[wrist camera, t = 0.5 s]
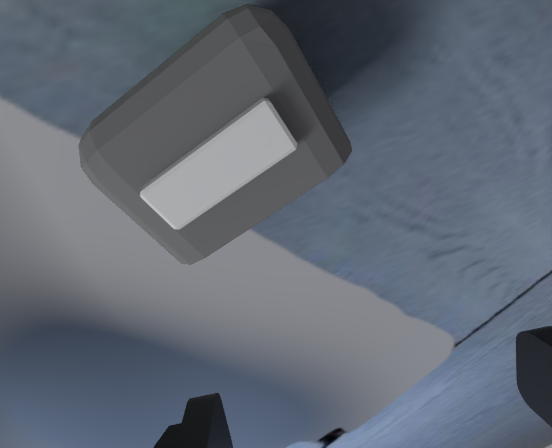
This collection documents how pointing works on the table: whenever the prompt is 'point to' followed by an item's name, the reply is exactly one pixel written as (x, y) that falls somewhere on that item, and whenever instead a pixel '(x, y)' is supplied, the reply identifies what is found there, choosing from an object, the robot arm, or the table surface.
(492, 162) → the table surface
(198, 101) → the alarm clock
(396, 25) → the table surface
